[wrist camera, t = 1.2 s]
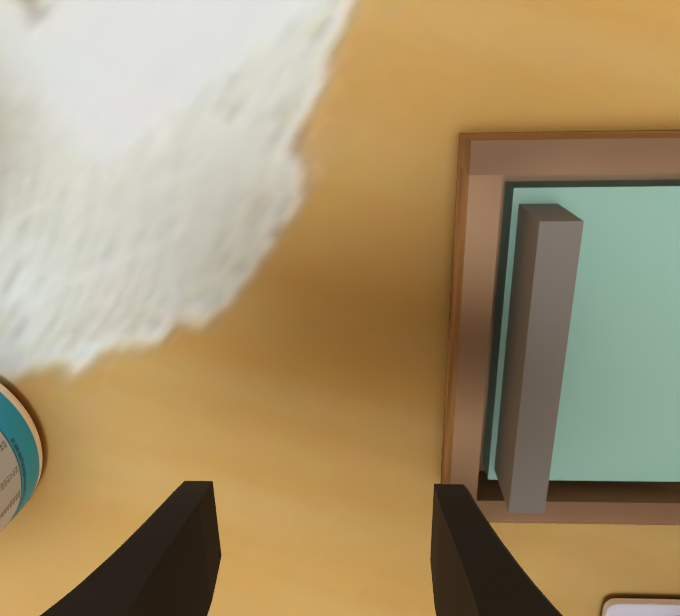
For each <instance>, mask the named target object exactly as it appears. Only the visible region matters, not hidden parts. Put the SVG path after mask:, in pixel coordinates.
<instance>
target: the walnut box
mask: <svg viewBox="0 0 680 616" xmlns="http://www.w3.org/2000/svg"><path fill="white" fill-rule="evenodd" d="M592 180H680V130H642V131H575V132H508V133H459V151H458V169H457V188H456V207H455V225H454V244H453V262H452V281H451V300H450V318H449V337H448V356H447V374H446V393H445V412H444V430H443V449H442V467H441V484H464V485H465V486H466V487H467V488H468V490H469V492H470V493H471V495H472V497H473V499H474V500H475V502H476V504H477V505H478V507H479V509H480V510H481V512H482V513H483V515H484V516H485V518H486V519H487V521H488V522H500V523H568V524H636V525H680V482H653V481H566V480H549V484H548V491H547V498H546V506H545V513H508V510H507V507H506V503H505V500H504V497H503V494H502V491H501V488H500V485H499V482H498V480H488V478H487V475H486V472H485V468H484V465H483V462H482V456H483V444H484V432H485V420H486V408H487V396H488V384H489V372H490V360H491V348H492V336H493V324H494V312H495V300H496V288H497V276H498V264H499V252H500V240H501V228H502V217H503V205H504V193H505V181H592Z"/></svg>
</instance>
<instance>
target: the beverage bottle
mask: <svg viewBox="0 0 680 616" xmlns="http://www.w3.org/2000/svg"><path fill="white" fill-rule="evenodd" d="M41 471H42V447H41V442H40V438H39V435H38V432H37V429H36V427H35V425H34V423H33V421H32V419H31V417H30V416H29V414H28V412H27V411H26V410H25V408H24V407H23V405H22V404H21V403H20V402H19V401H18V399H17V398H16V397H15V396H14V395H13V394H12V393H11V392H10V391H9V390H8V389H6V388H5V387H4V386H3V385H2V384H0V531H1V530H2V529H3V528H4V527H5V526H6V525H7V524H8V523H9V522H10V521H11V520H12V519H13V518H14V517H15V516H16V515H17V513H18V512H19V511H20V510H21V509H22V507H23V506H24V505H25V504H26V502H27V501H28V500H29V498H30V497H31V496H32V494H33V492H34V491H35V489H36V487H37V484H38V482H39V479H40V475H41Z"/></svg>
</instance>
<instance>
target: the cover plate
mask: <svg viewBox="0 0 680 616" xmlns="http://www.w3.org/2000/svg"><path fill="white" fill-rule="evenodd" d="M482 462H483V465H484V468H485V472H486V475H487V478H488V480H498V482H499V485H500V488H501V491H502V494H503V497H504V500H505V503H506V507H507V510H508V513H545V506H546V498H547V491H548V484H549V480H566V481H653V482H680V180H592V181H505V193H504V205H503V217H502V228H501V240H500V252H499V264H498V276H497V288H496V300H495V312H494V324H493V336H492V348H491V360H490V372H489V384H488V396H487V408H486V420H485V432H484V444H483V456H482Z"/></svg>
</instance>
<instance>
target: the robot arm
mask: <svg viewBox="0 0 680 616" xmlns="http://www.w3.org/2000/svg"><path fill="white" fill-rule="evenodd" d="M220 559H221V549H220V540H219V532H218V523H217V515H216V506H215V498H214V489H213V481H184V482H183V483H182V484H181V485H180V486H179V487H178V488H177V489H176V490H175V491H174V492H173V493H172V494H171V495H170V496H169V497H168V498H167V499H166V501H165V502H164V503H163V504H162V505H161V506H160V507H159V508H158V509H157V510H156V511H155V512H154V513H153V514H152V515H151V516H150V517H149V518H148V519H147V520H146V521H145V523H144V524H143V525H142V526H141V527H140V528H139V529H138V530H137V531H136V532H135V533H134V534H133V535H132V536H131V537H130V538H129V539H128V540H127V541H126V542H125V543H124V544H123V545H122V546H121V547H120V548H119V549H117V550H116V551H115V552H114V553H113V554H112V555H111V556H110V557H109V558H108V559H107V560H106V561H105V562H103V563H102V564H101V565H100V566H99V567H98V568H97V569H96V570H95V571H94V572H93V573H91V574H90V575H89V576H88V577H87V578H86V579H85V580H84V581H83V582H81V583H80V584H79V585H78V586H77V587H76V588H74V589H73V590H72V591H71V592H70V593H68V594H67V595H66V596H65V597H63V598H62V599H61V600H60V601H58V602H57V603H56V604H54V605H53V606H52V607H51V608H49V609H48V610H47V611H45V612H44V613H43V614H42V615H40V616H207V614H208V611H209V608H210V605H211V602H212V598H213V593H214V589H215V584H216V579H217V574H218V569H219V564H220ZM430 560H431V571H432V582H433V593H434V603H435V610H436V615H437V616H562V615H561V614H560V612H559V611H558V610H557V609H556V608H555V607H554V606H553V605H552V604H551V603H550V601H549V600H548V599H547V598H546V597H545V596H544V595H543V593H542V592H541V591H540V590H539V589H538V587H537V586H536V585H535V584H534V583H533V581H532V580H531V579H530V578H529V577H528V575H527V574H526V573H525V572H524V570H523V569H522V568H521V567H520V565H519V564H518V563H517V561H516V560H515V559H514V557H513V556H512V555H511V553H510V552H509V551H508V549H507V548H506V547H505V545H504V544H503V543H502V541H501V540H500V538H499V537H498V536H497V534H496V533H495V531H494V530H493V528H492V527H491V525H490V524H489V522H488V521H487V519H486V518H485V516H484V515H483V513H482V512H481V510H480V509H479V507H478V505H477V504H476V502H475V500H474V499H473V497H472V495H471V493H470V492H469V490H468V488H467V487H466V486H465V485H464V484H434V496H433V517H432V538H431V558H430ZM602 616H680V599H638V598H612V599H610V600H608V601H607V602H606V603H605V604H604V606H603V611H602Z"/></svg>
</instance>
